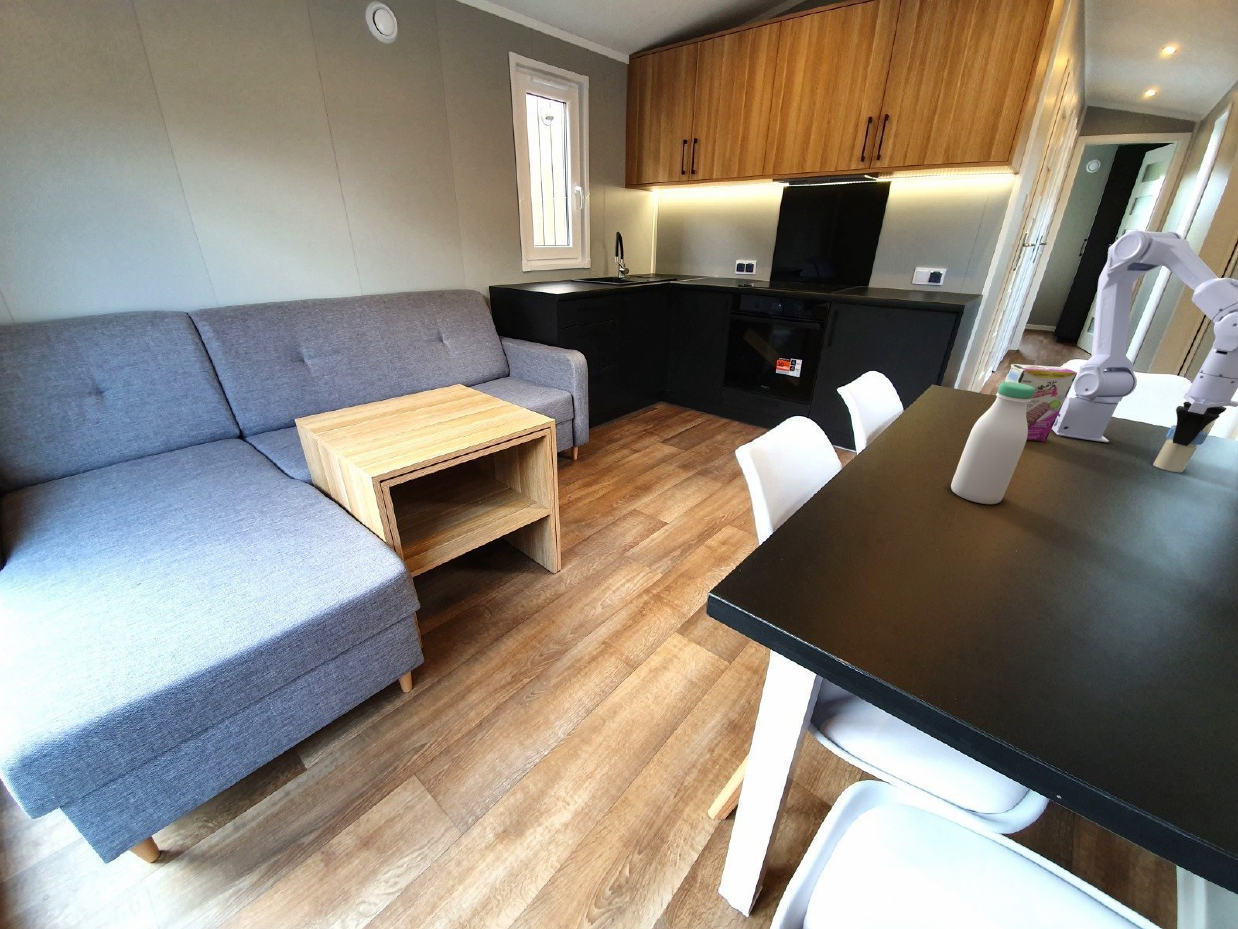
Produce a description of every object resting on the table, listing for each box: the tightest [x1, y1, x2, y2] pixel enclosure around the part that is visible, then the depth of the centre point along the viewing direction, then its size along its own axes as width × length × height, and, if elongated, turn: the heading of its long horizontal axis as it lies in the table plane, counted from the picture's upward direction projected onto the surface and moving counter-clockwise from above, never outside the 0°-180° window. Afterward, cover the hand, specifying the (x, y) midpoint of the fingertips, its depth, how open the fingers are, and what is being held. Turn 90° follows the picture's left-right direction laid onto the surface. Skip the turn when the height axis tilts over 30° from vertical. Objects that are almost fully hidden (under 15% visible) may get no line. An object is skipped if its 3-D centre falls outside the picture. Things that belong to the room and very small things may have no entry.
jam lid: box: [1165, 424, 1209, 446], centre depth 97 cm, size 5×5×2 cm
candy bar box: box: [1004, 363, 1078, 443], centre depth 110 cm, size 11×5×16 cm, turn 84°
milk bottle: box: [950, 381, 1035, 505], centre depth 82 cm, size 8×8×20 cm
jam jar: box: [1152, 438, 1199, 473], centre depth 99 cm, size 4×4×8 cm
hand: (1182, 441), depth 98 cm, fingers closed on jam lid, 5 cm apart
